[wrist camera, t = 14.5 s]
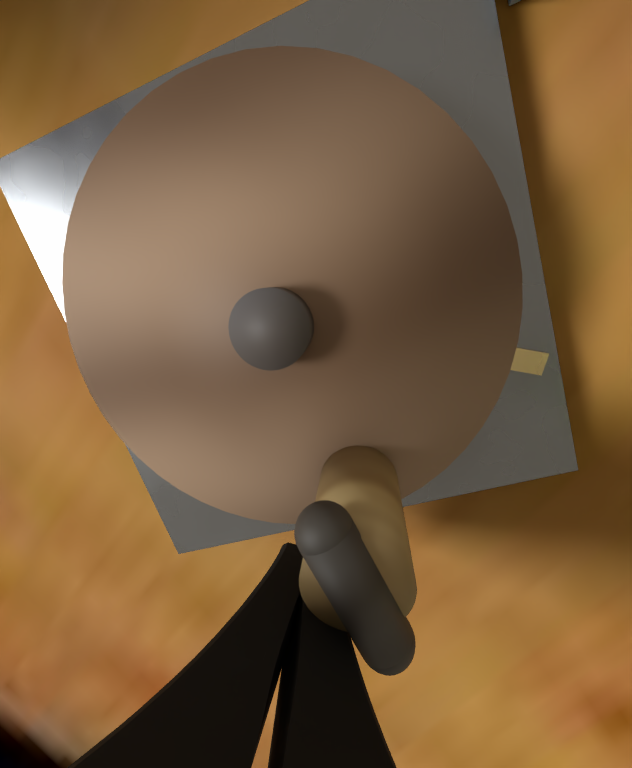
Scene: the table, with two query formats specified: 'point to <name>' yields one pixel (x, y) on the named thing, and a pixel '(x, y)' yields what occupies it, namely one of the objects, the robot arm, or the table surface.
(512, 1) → the tray
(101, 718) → the table surface
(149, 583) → the table surface
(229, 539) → the crank base
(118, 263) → the crank
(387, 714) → the table surface
